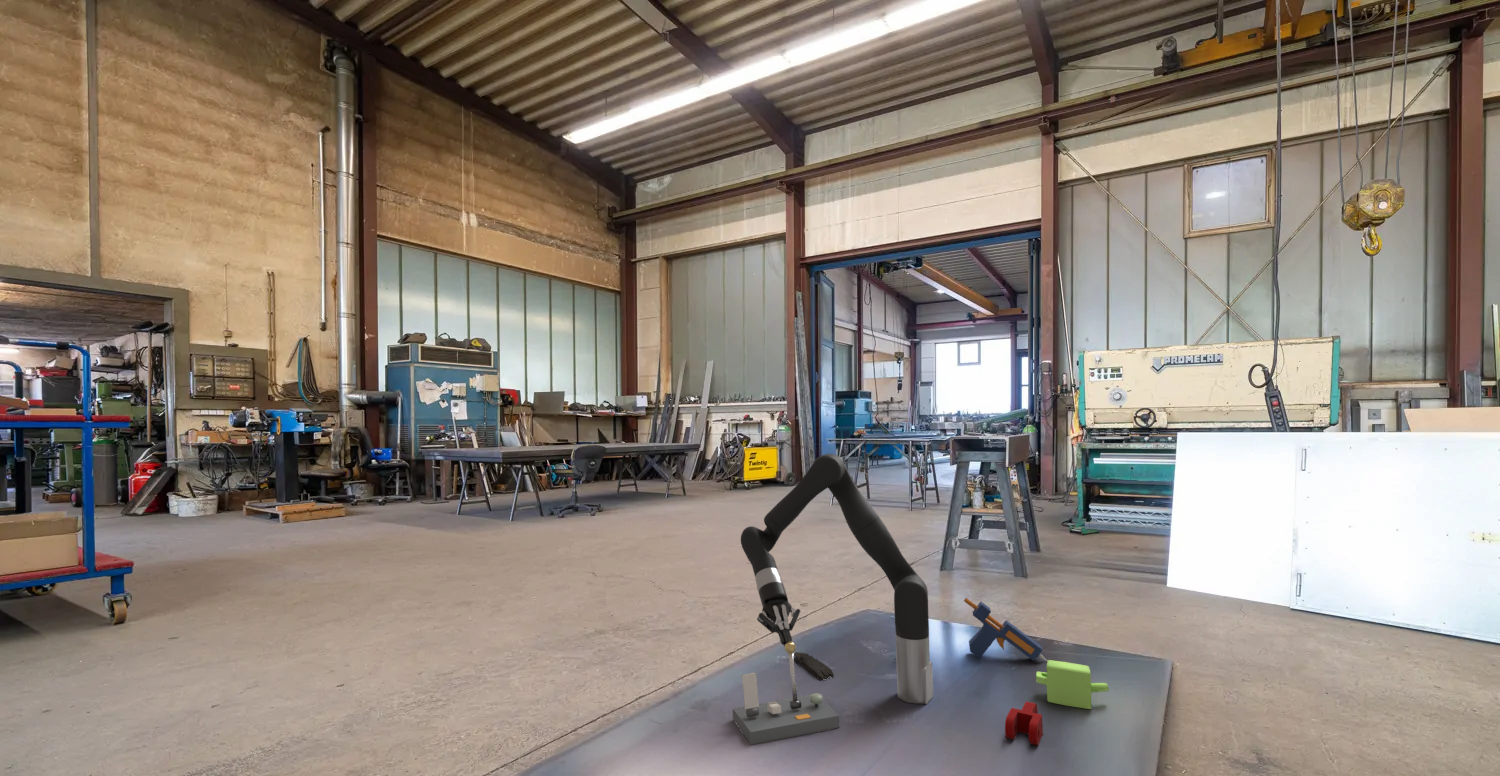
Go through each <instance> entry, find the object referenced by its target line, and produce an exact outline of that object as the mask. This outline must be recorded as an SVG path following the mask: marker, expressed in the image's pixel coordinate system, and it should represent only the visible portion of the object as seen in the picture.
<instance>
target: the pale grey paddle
mask: <svg viewBox="0 0 1500 776" xmlns="http://www.w3.org/2000/svg"><path fill="white" fill-rule="evenodd" d="M741 680H742V690H743V691H742V692H743V702H744V706H745V709H746V715H747V717H753V716H758V715H759V709H758V707H759V704H760V702H759V692H758V691H759V690H758V682H757V681H758V679H757V673H756V672H751V673H744V674H741Z"/></svg>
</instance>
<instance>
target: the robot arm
mask: <svg viewBox="0 0 1500 776" xmlns="http://www.w3.org/2000/svg"><path fill="white" fill-rule="evenodd" d="M826 489H828V490H829V491H830V492H831V494H832V495H833V496H834V498H835V499H836V500H837V503H838V504H839V507H840V509H841V511H842V514H843V517H844V519H845V521H846V524H847V525H848V528H849V530H850V532H851V534H852V535H853V536H854V538H855V539H856V541H857V542H858V544H859V545H860V546H861V548H862V549H863V550H864V552H865V553H866V554H867V555H868V557H870V558H872V560H873V561H874V562H875V563H876V564H877V565H878V566H879V567H880V568H881V569H882V571H883V572H884V574H885V576H886V577H887V579H888V581H889V582H890V585H891V586H892V589H893V590H894V591H893V592H894V593H893V594H894V595H893V601H894V602H893V605H894V607H893V609H894V626H895V654H896V655H895V657H896V662H895V663H896V690H897V691H896V693H897V698H898V699H900V700H901V701H903V702H906V703H909V704H925V705H927V704H928V703H929V702H930V701H931V699H933V697H934V681H933V680H934V679H933V678H934V677H933V673H934V672H933V662H932V661H930V660H931V659H930V658H931V655H930V625H929V624H930V623H929V622H930V621H929V593H928V592H929V591H928V588H927V585H926V583H925V581H924V580H923V578H921V577H920V576H919V574H918V573H917V572H916V571H915V569H914V568H913V567H912V566H911V564H910V563H909V562H908V561H907V559H906V558H905V557H904V556H903V554H902V552H901V550H900V548H899V547H898V546H899V545H897V543H896V541H895V539H894V538H893V536H892V534H891V533H890V532H889V530H888V528H887V526H886V525H885V523H884V522H883V521H882V519H881V517H880V515H878V514H877V511H876V510H875V509H874V508H873V507H872V505H871V503H870V502H869V501H868V500H867V498H866V497H865V496H864V495H863V493H862V492H861V491H860V489H859V488H858V486H857V485H856V483H855V482H854V480H853V477H852V476H851V474H850V473H849V470H848V468H847V466H846V464H845V463H844V461H843V460H842V458H841V457H839V455H836V454H833V453H826V454H822V455H820V456H818V457H817V458H815V460H814V461H813V462H812V464H811V466H809V469H808V471H807V472H806V473H805V475H804V476H803V477H802V479H800V481H799V482H798V483H797V484H796V485H795V487H794V488H793V489H792V490H790V491H789V493H787V494H786V495H785V496H784V497H782V499H781V500H780V501H779V502H778V503H777V504H775V505H774V506H773V508H771V509H770V511H768V513H767V514H766V515H765V516H764V517H763V523H764V525H765V526H766V527H765V528H764V530H762V529H760V528H758V527H757V526H748V527H745V528H744V529H743V530H742V532H741V534H740V544H741V549H742V550H743V552H744V554H745V556H746V558H747V561H749V563H750V564H751V567H752V571H753V573H754V574H753V575H754V577H755V584H756V590H757V592H758V596H759V598H760V603H761V606H762V609H761V611H762V612H759V614H758V616H757V618H756V620H757V622H758V623H760V625H762V626H763V627H764V628H765V629H767V630H768V631H769V632H770V633H773V634H774V633H777V634H778V637H779V641H780V644H781V645H783V647H785V644H786V643H787V642H789V641H792V642H793V639H792V634H791V631H792V630H793V628H794V627H795V625H796V623H797V620H798V617H799V615H800V614H801V609H800V608H796V609H795V608H794V607H792V604H791V603H790V602H789V598H788V595H787V591H786V589H785V588H786V587H785V586H784V582H783V579H782V576H781V573H780V572H779V569H778V566H777V563H776V560H775V558H774V556H773V555H772V554H771V553H770V551H771V550H773V549H774V547H775V545H776V543H778V541H779V538H780V536H781V535H782V533H783V532H784V531H785V530H786V529H787V527H789V526H790V525H791V524H792V523H793V522H794V521H795V520H796V518H797V517H799V515H800V514H801V513H802V512H803V511H804V509H806V507H807V506H808V504H810V503H811V501H812V500H814V499H815V498H816V497H817V496H818V495H820V493H822V492H824V491H825V490H826ZM789 616H791V617H792V618H791V620H790V623H789Z"/></svg>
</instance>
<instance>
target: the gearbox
mask: <svg viewBox="0 0 1500 776" xmlns="http://www.w3.org/2000/svg"><path fill="white" fill-rule="evenodd" d="M1047 661H1048V662H1047ZM1047 661H1046V662H1047V663H1046V672H1045V671H1036V674H1035V677H1036V678H1035V682H1036V684H1040V685H1044V686H1046V697H1047V699H1046V700H1047V702H1049V703H1052V704H1057V705H1063V706H1067V707H1074V708H1081V709H1087V710H1091V709H1092V693H1102V692H1109V690H1110V689H1109V685H1108V683H1106V682H1092V676H1091V669H1090V666H1089V665H1085V664H1080V663H1074V662H1073V663H1072V662H1068V661H1059V660H1052V659H1047Z"/></svg>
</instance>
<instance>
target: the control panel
mask: <svg viewBox="0 0 1500 776" xmlns="http://www.w3.org/2000/svg"><path fill="white" fill-rule="evenodd" d="M810 695H811V694H809V695H801V696H797V700H800V701H801V708H798V709H791V707H790V701H793V697H791V698H786V699H779V700H775V701H773V700H772V702H777V704H779V705H780V706H781V713H777V714H772V713H770V712H769V711H768V708H767V704H768V703H770V702H771V701H770V702H769V701H768V702H762V703H759V707H758V709H759V715H758V716H753V717H747V715H746V709H745V705H744V706H739V707H733V708H732V720H733V719H734V721H735V722H736V723H737V725H738V726H739V728H740V729H741V731H742V732H743V733H742V732H741V731H740V732H741V733H742V735H743V734H744V735H745V736H744V735H743V736H744V738H745V739H746V738H747V739H746V740H747V741H748V743H749V744H750V745H758V744H763V743H768V742H772V741H779V740H783V739H789V738H793V737H798V736H804V735H808V734H814V733H818V732H824V731H829V730H834V729H839V728H840V715H839V714H838V713H837V712H836V711H834V709H832V708H831V707H830V706H829V705H828V704H827V703H826V702H825V701H823V700H822V703H820V704H818V707H815V704H814V703H811V702H810ZM734 721H733V722H734ZM735 722H734V723H735ZM737 725H736V726H737ZM738 726H737V727H738ZM739 728H738V729H739ZM740 729H739V730H740Z"/></svg>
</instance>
